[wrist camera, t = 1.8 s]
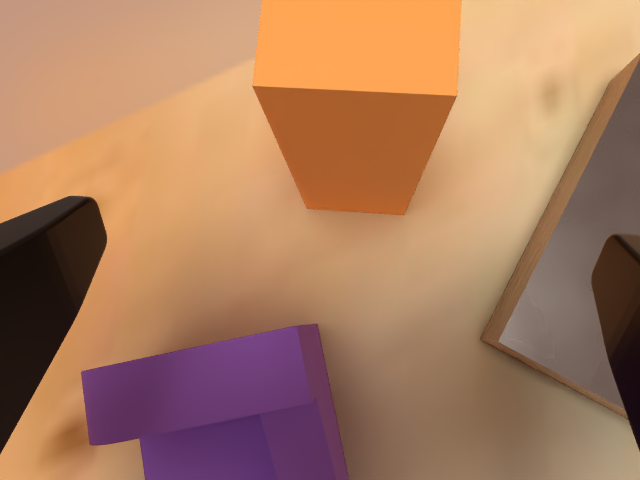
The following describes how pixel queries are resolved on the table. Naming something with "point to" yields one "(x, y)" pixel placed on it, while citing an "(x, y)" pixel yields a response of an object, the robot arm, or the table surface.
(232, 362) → the bracket
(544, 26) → the table surface
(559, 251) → the slotted square tile
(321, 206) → the tall orange pillar
